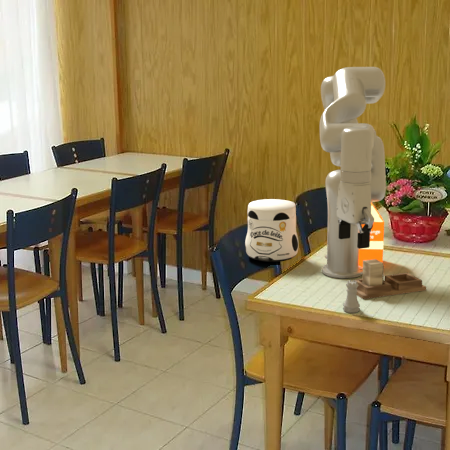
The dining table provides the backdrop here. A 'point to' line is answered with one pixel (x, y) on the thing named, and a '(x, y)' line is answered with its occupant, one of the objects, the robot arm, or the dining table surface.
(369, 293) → the wooden compartment tray
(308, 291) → the dining table surface
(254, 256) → the milk container
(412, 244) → the dining table surface
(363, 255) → the orange juice
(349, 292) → the rook chess piece
